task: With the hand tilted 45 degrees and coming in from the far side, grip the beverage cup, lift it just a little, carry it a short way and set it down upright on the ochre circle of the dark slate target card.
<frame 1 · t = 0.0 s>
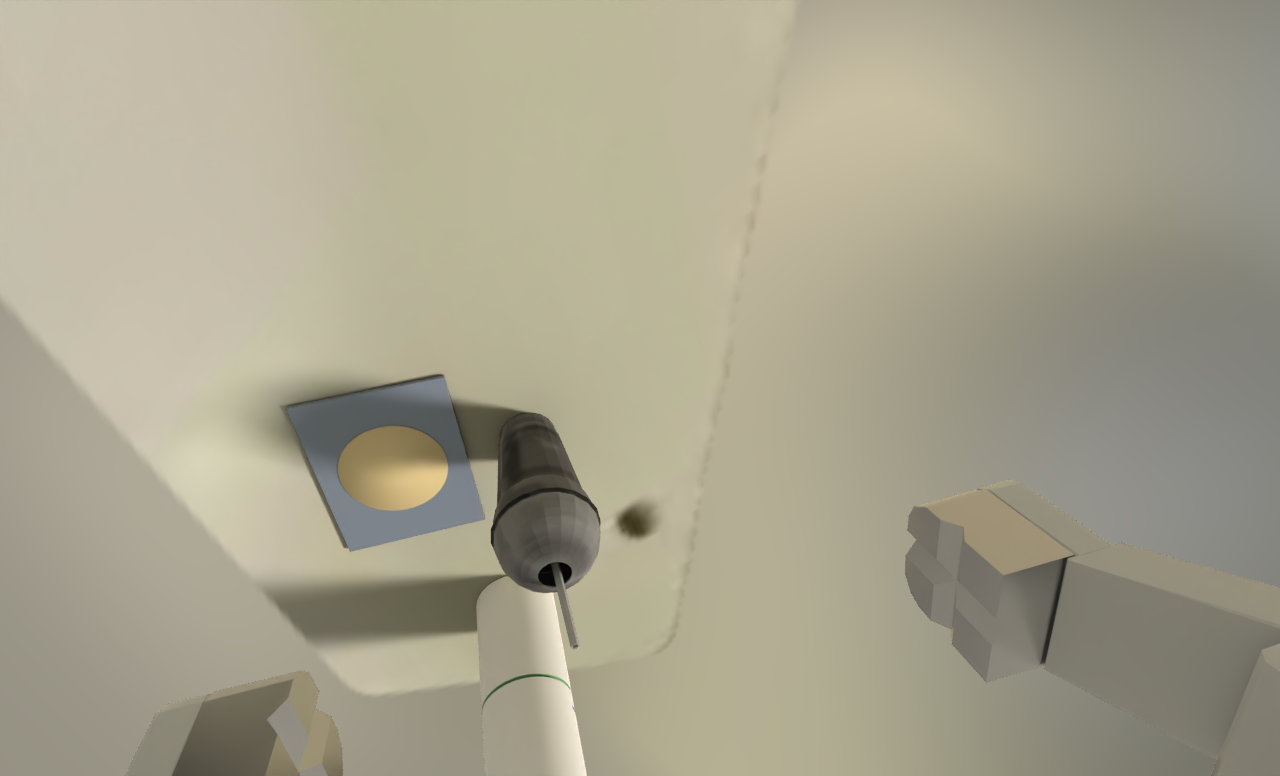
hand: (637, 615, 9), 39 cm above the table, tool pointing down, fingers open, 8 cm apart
cylindrical container: (515, 600, 62), on the table
target card: (394, 466, 51), on the table
beverage cup: (527, 435, 53), on the table
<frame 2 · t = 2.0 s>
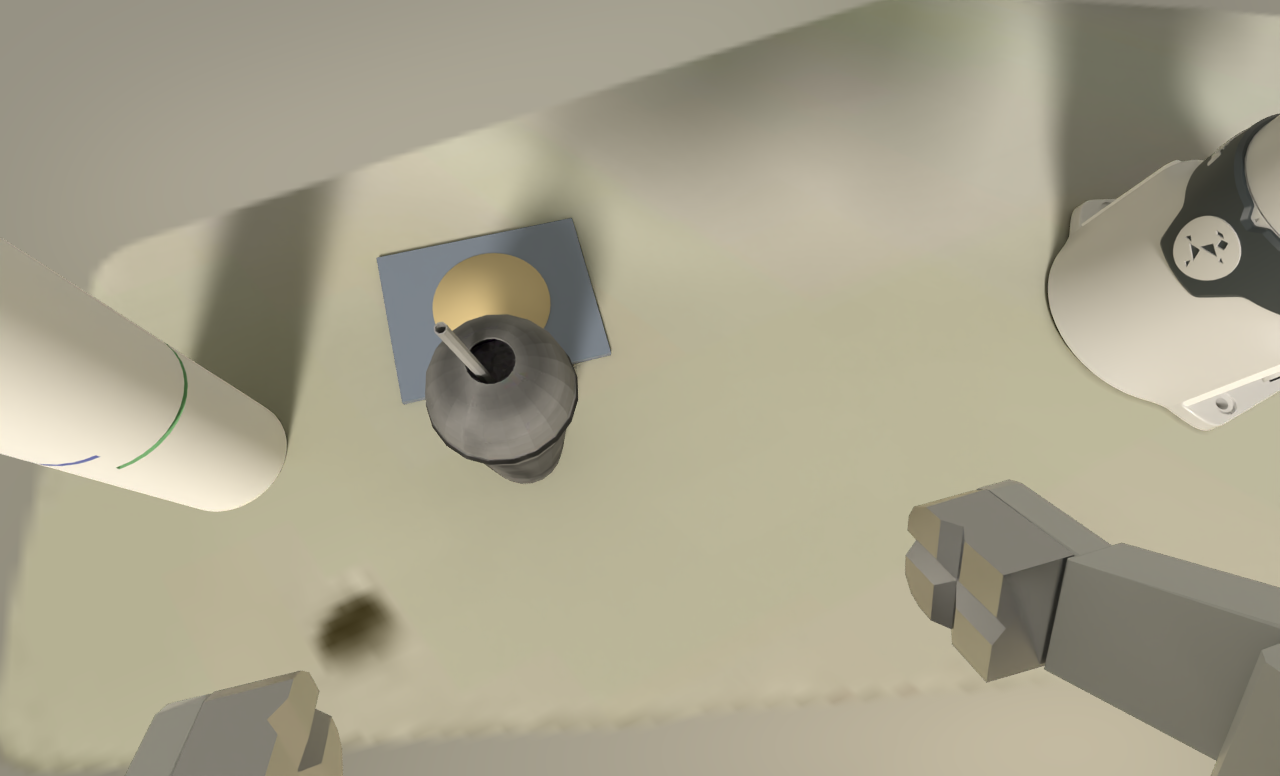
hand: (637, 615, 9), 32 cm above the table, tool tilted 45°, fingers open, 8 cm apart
cylindrical container: (229, 454, 41), on the table
target card: (492, 307, 46), on the table
beverage cup: (526, 450, 43), on the table
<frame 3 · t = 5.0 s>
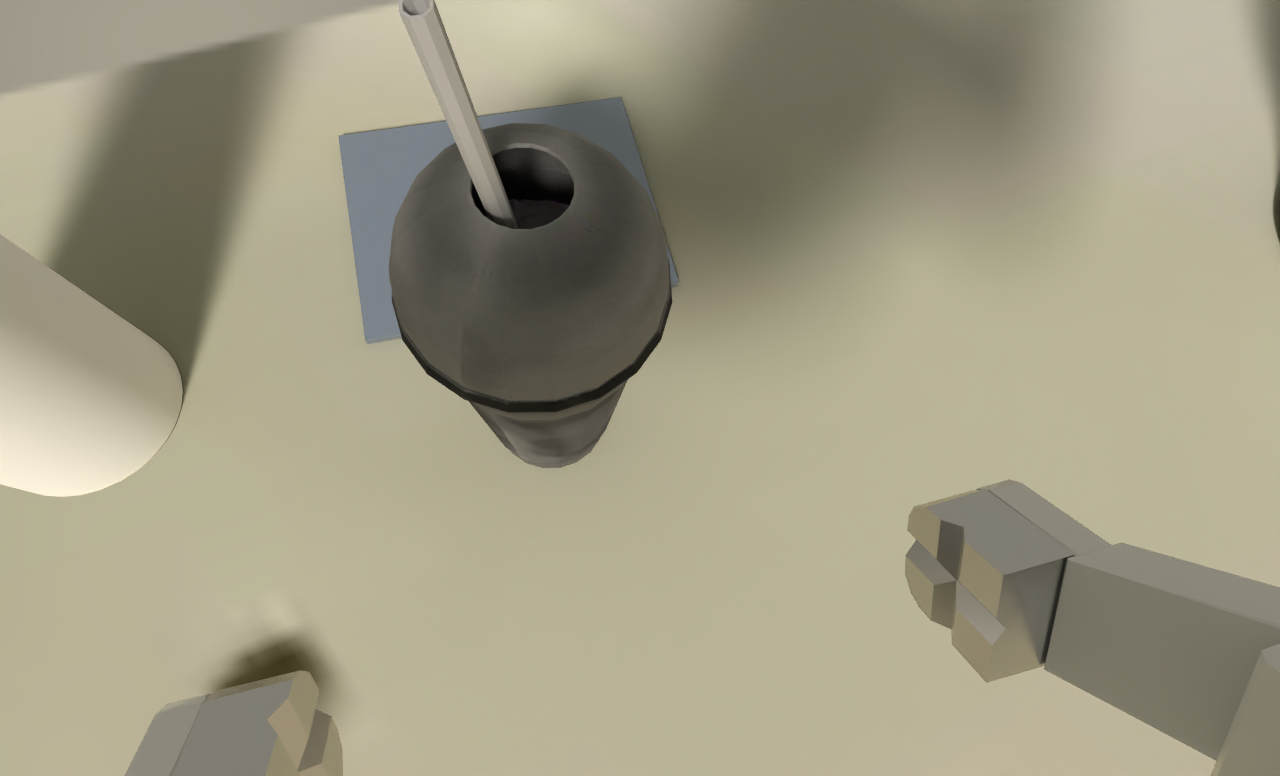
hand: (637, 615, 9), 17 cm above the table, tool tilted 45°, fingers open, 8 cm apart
cylindrical container: (90, 409, 26), on the table
target card: (506, 212, 31), on the table
beverage cup: (552, 418, 28), on the table
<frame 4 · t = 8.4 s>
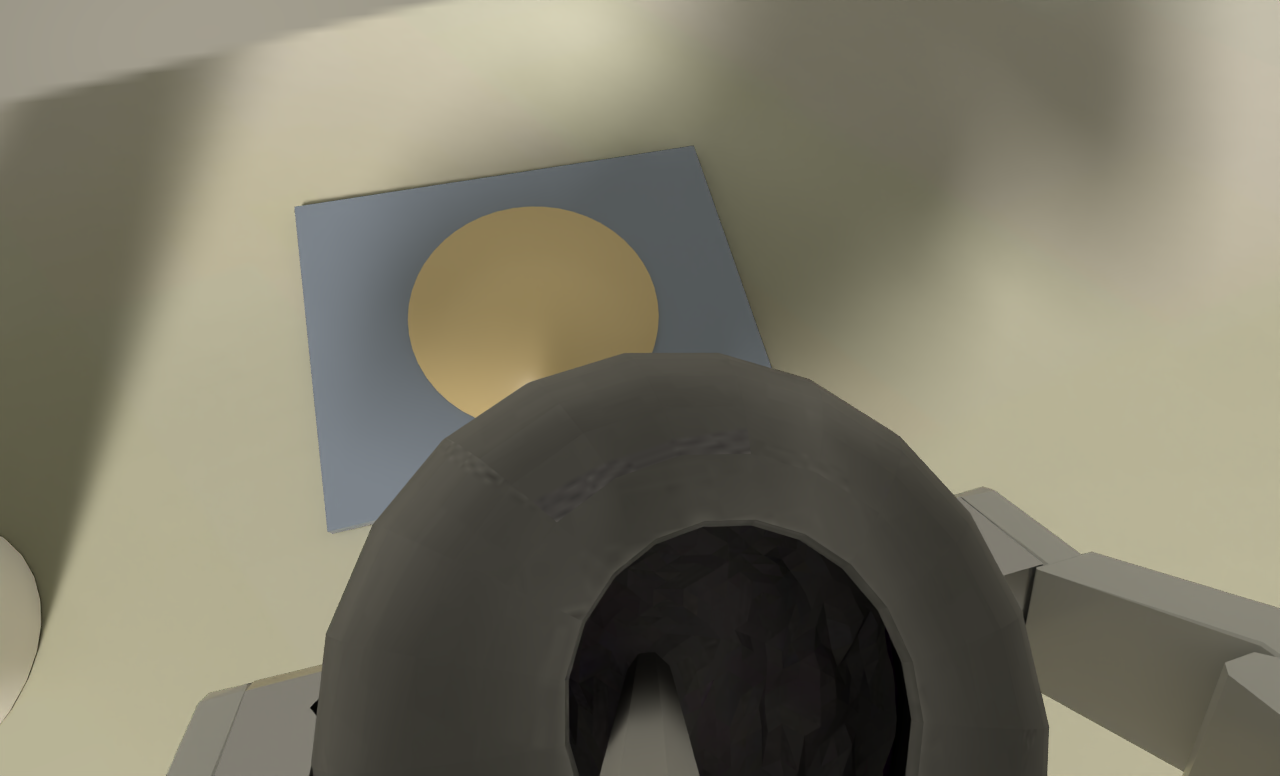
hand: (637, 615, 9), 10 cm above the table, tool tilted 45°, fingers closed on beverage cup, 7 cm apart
target card: (536, 317, 22), on the table
beverage cup: (612, 648, 18), on the table, touching gripper
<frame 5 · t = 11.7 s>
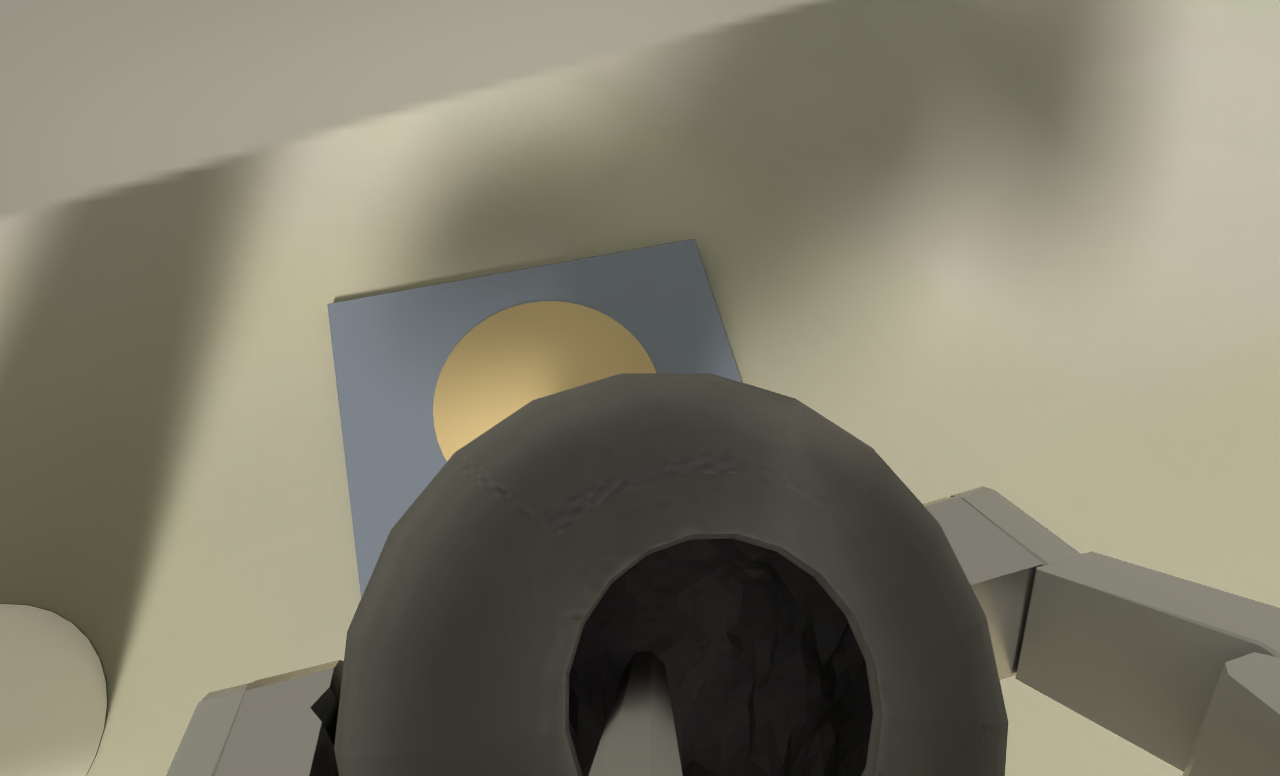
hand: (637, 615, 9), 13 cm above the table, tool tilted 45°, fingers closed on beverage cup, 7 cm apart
target card: (550, 406, 24), on the table
beverage cup: (613, 647, 19), point 2 cm above the table, touching gripper
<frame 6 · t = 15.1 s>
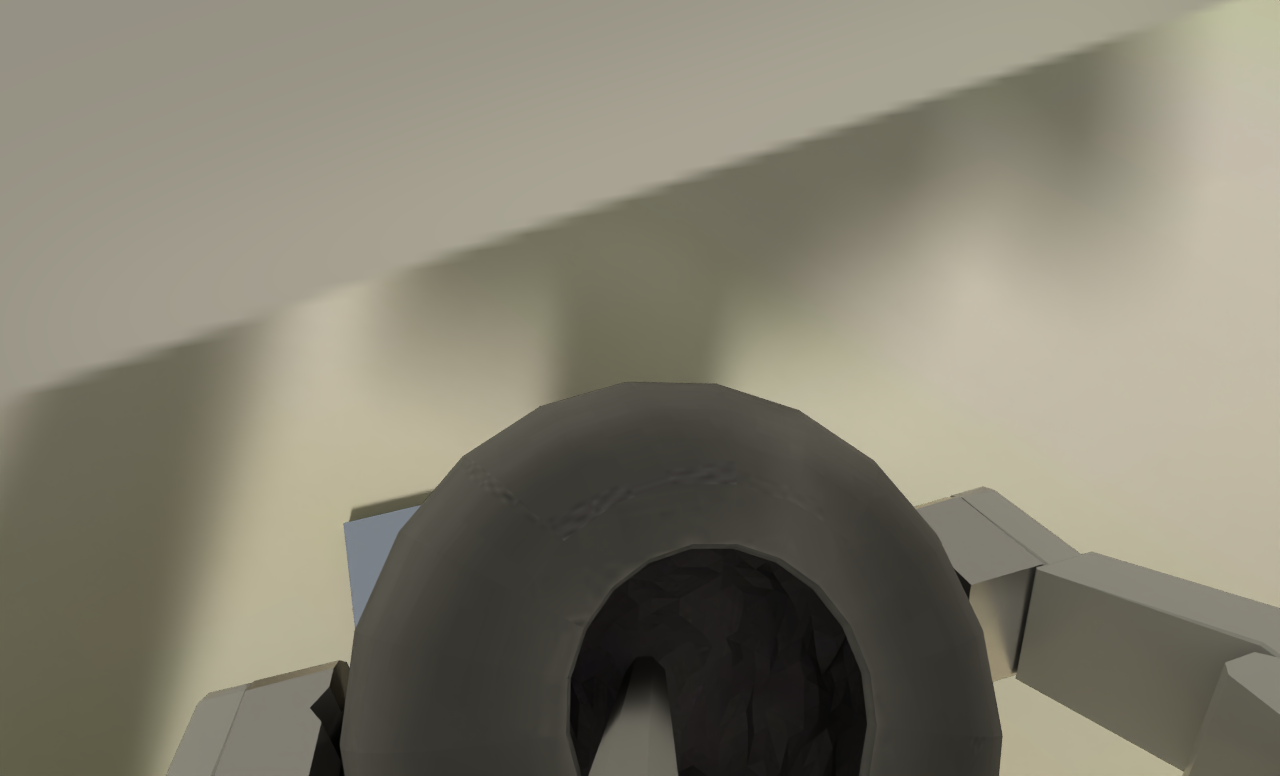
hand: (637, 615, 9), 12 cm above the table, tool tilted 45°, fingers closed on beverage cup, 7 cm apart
target card: (614, 649, 19), on the table
beverage cup: (614, 650, 19), resting on target card, touching gripper
when the fingers open (11 cm above the table, at t = 16.3 s): beverage cup stays where it is, resting on target card.
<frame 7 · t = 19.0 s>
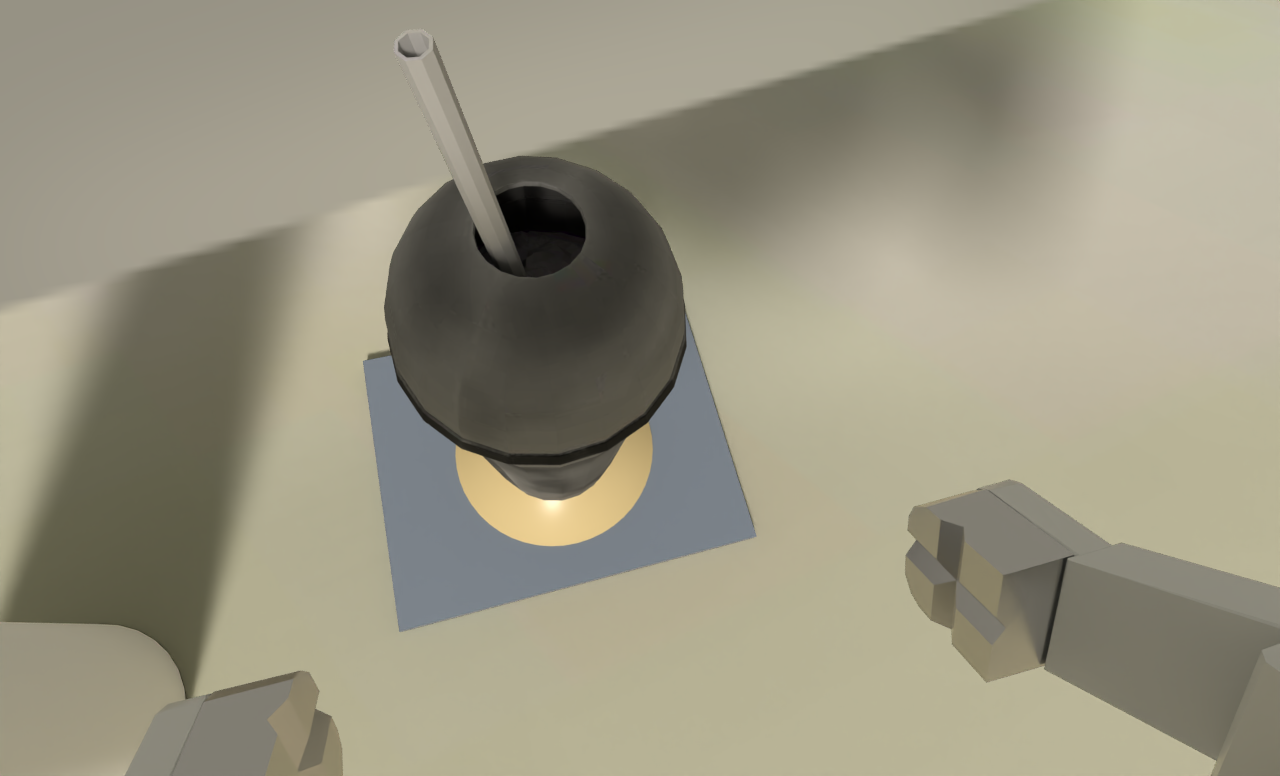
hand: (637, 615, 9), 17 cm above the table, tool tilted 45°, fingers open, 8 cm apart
cylindrical container: (76, 734, 22), on the table
target card: (555, 449, 27), on the table
beverage cup: (555, 447, 27), resting on target card
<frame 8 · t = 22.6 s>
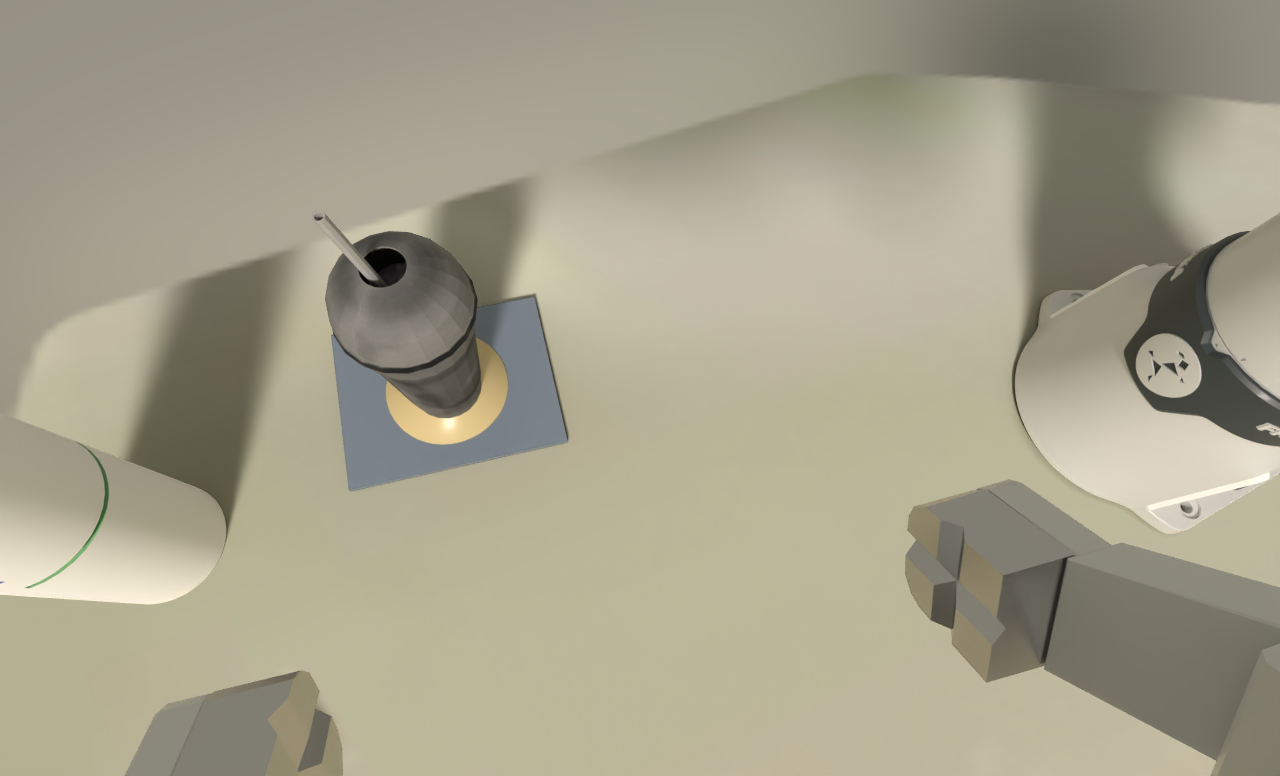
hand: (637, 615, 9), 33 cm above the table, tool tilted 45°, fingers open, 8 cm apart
cylindrical container: (165, 542, 40), on the table
target card: (448, 389, 44), on the table
beverage cup: (447, 387, 44), resting on target card
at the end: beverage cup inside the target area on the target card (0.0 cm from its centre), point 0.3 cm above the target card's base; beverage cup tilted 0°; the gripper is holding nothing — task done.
